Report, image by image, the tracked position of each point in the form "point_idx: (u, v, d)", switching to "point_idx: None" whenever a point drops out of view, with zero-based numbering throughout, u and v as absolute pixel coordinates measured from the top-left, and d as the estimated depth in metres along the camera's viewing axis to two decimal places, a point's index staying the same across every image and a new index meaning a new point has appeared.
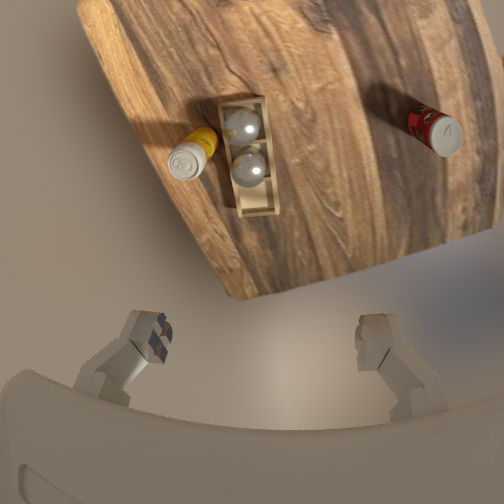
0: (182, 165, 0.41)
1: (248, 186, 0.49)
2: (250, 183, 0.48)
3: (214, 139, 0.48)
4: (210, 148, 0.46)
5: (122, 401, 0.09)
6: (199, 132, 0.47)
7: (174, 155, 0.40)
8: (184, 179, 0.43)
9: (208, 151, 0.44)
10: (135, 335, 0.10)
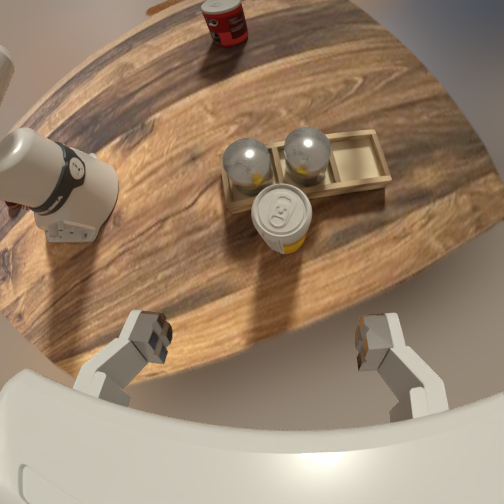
0: (280, 211, 0.26)
1: (328, 145, 0.32)
2: (323, 143, 0.32)
3: None
4: None
5: (122, 401, 0.09)
6: None
7: (264, 225, 0.26)
8: (307, 210, 0.26)
9: None
10: (135, 335, 0.10)
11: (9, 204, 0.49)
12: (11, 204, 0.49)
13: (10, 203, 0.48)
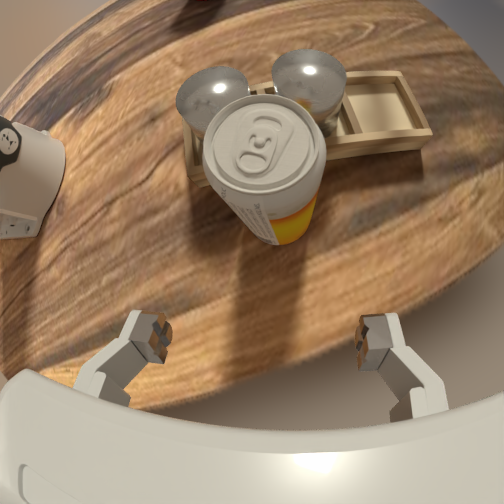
0: (258, 143, 0.12)
1: (342, 70, 0.17)
2: (333, 68, 0.18)
3: None
4: None
5: (122, 401, 0.09)
6: None
7: (224, 172, 0.12)
8: (316, 139, 0.11)
9: None
10: (135, 335, 0.10)
11: None
12: None
13: None
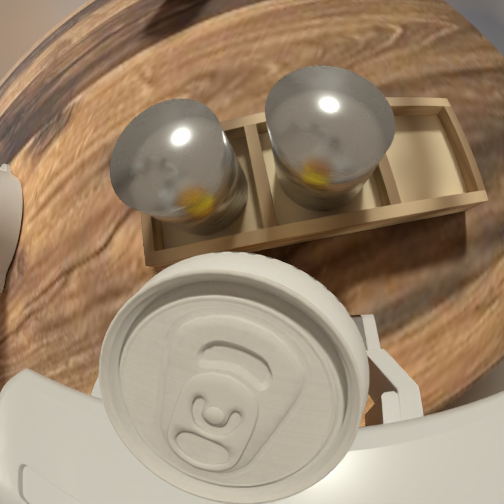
0: (210, 419, 0.04)
1: (387, 110, 0.10)
2: (372, 105, 0.10)
3: None
4: None
5: None
6: None
7: (151, 445, 0.05)
8: (353, 412, 0.04)
9: None
10: None
11: None
12: None
13: None
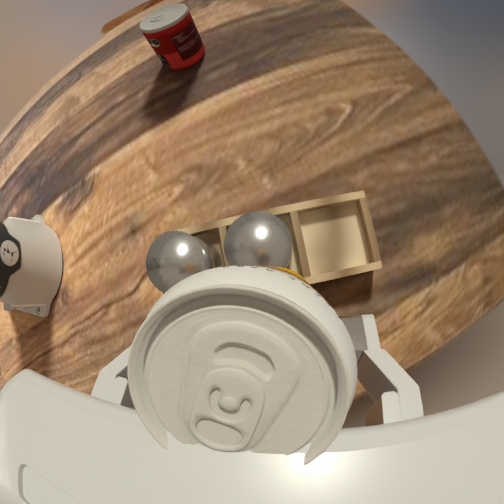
0: (225, 407, 0.05)
1: (288, 241, 0.24)
2: (280, 238, 0.24)
3: None
4: None
5: None
6: None
7: (175, 433, 0.06)
8: (342, 397, 0.05)
9: None
10: None
11: None
12: None
13: None
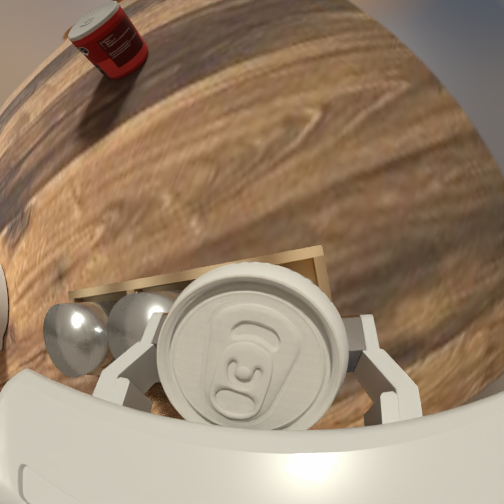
0: (241, 376, 0.07)
1: None
2: None
3: None
4: None
5: (145, 407, 0.09)
6: None
7: (195, 407, 0.07)
8: (336, 365, 0.07)
9: None
10: None
11: None
12: None
13: None
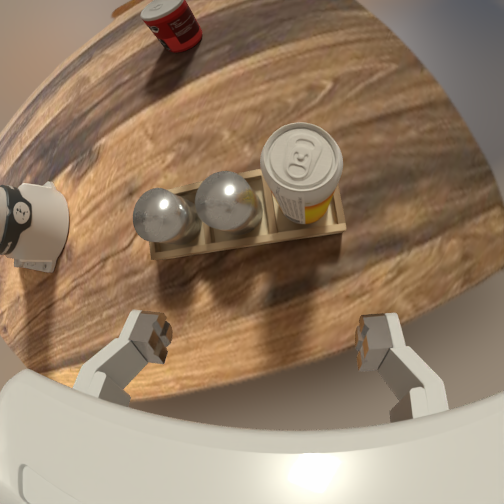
0: (299, 158, 0.18)
1: (249, 197, 0.27)
2: (242, 194, 0.27)
3: None
4: None
5: (122, 401, 0.09)
6: None
7: (278, 176, 0.18)
8: (336, 155, 0.18)
9: None
10: (135, 335, 0.10)
11: None
12: None
13: None
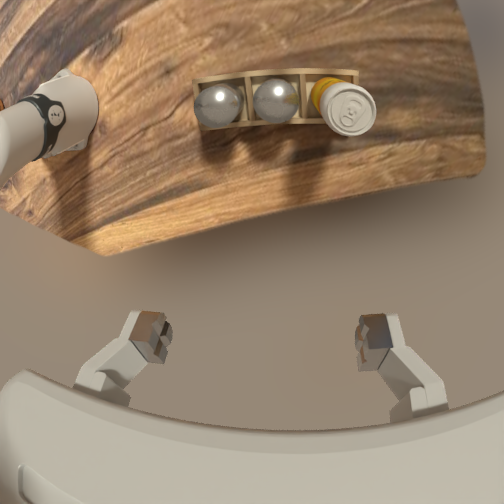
0: (350, 113, 0.24)
1: (297, 103, 0.31)
2: (291, 100, 0.31)
3: (326, 79, 0.31)
4: (336, 80, 0.27)
5: (122, 401, 0.09)
6: (314, 94, 0.31)
7: (334, 121, 0.25)
8: (373, 116, 0.24)
9: (339, 81, 0.26)
10: (135, 335, 0.10)
11: None
12: None
13: None
